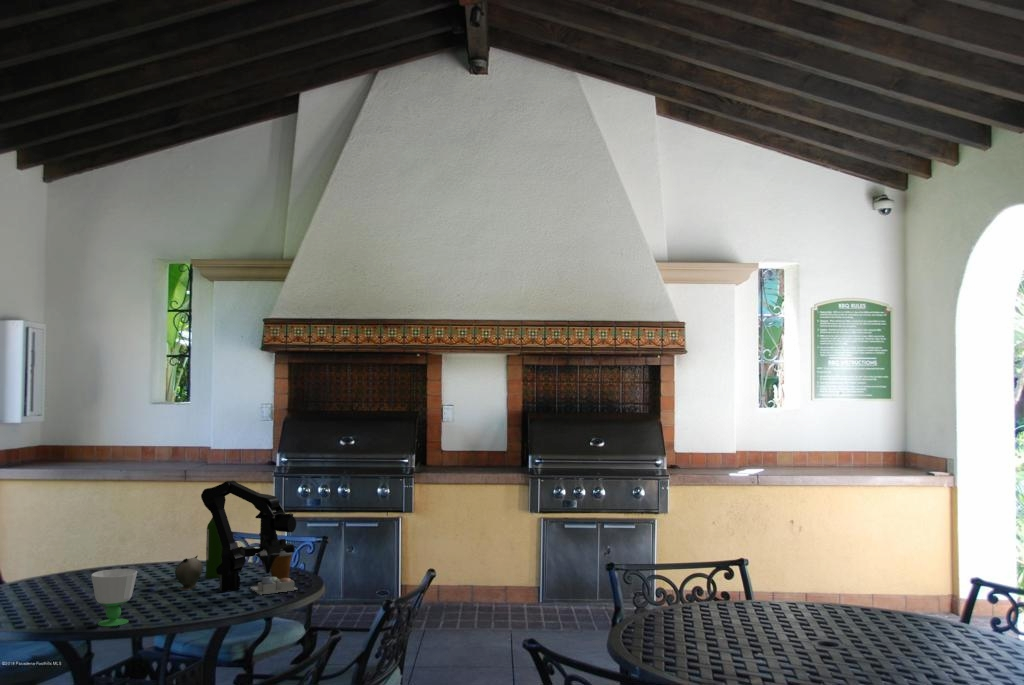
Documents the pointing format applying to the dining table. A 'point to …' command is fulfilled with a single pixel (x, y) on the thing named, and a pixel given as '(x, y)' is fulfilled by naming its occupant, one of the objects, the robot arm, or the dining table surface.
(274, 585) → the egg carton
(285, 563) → the disposable coffee cup
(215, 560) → the wine bottle
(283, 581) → the terracotta button
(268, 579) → the slate button
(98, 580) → the cup
